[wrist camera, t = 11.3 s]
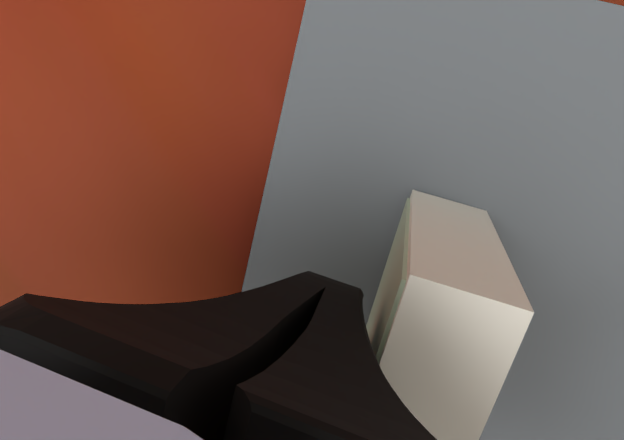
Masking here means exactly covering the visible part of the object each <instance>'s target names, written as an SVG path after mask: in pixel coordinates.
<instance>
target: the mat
mask: <svg viewBox="0 0 624 440" xmlns="http://www.w3.org/2000/svg"><path fill="white" fill-rule="evenodd" d="M412 190H416V191H419V192H423V193H426V194H430V195H433V196H437V197H440V198H444V199H447V200H451V201H454V202H458V203H461V204H465V205H468V206H472V207H475V208H479V209H482V210H485V211H487V213H488V215H489V217H490V219H491V221H492V223H493V226H494V228H495V230H496V232H497V234H498V236H499V238H500V240H501V243H502V245H503V247H504V249H505V251H506V253H507V255H508V257H509V260H510V262H511V264H512V266H513V268H514V270H515V272H516V274H517V277H518V279H519V281H520V283H521V285H522V287H523V289H524V291H525V294H526V296H527V298H528V300H529V302H530V304H531V306H532V308H533V311H534V314H533V317H532V319H531V321H530V324H529V326H528V328H527V331H526V333H525V335H524V337H523V340H522V342H521V344H520V347H519V349H518V351H517V353H516V356H515V358H514V360H513V363H512V365H511V367H510V370H509V372H508V374H507V376H506V379H505V381H504V383H503V386H502V388H501V390H500V392H499V395H498V397H497V399H496V402H495V404H494V406H493V409H492V411H491V413H490V415H489V418H488V420H487V422H486V425H485V427H484V429H483V431H482V434H481V436H480V438H479V440H624V6H621V5H616V4H612V3H607V2H603V1H598V0H306V4H305V9H304V13H303V18H302V22H301V27H300V31H299V36H298V40H297V45H296V49H295V54H294V58H293V63H292V67H291V72H290V76H289V80H288V85H287V89H286V94H285V98H284V103H283V107H282V112H281V116H280V121H279V125H278V130H277V134H276V139H275V143H274V148H273V152H272V157H271V161H270V166H269V170H268V175H267V179H266V184H265V188H264V193H263V197H262V202H261V206H260V211H259V215H258V220H257V224H256V229H255V233H254V238H253V242H252V247H251V251H250V256H249V260H248V265H247V269H246V274H245V278H244V283H243V287H242V292H243V291H247V290H251V289H254V288H258V287H262V286H265V285H268V284H271V283H274V282H276V281H279V280H282V279H285V278H288V277H291V276H294V275H296V274H299V273H302V272H306V271H311V272H314V273H317V274H320V275H322V276H325V277H328V278H331V279H334V280H337V281H340V282H343V283H346V284H349V285H352V286H355V287H358V288H360V289H361V290H362V292H363V294H364V297H363V314H364V320H365V324H366V325H367V322H368V319H369V315H370V312H371V309H372V306H373V303H374V300H375V297H376V294H377V291H378V287H379V284H380V281H381V278H382V275H383V272H384V269H385V266H386V262H387V259H388V256H389V253H390V250H391V247H392V244H393V241H394V237H395V234H396V231H397V228H398V225H399V222H400V219H401V216H402V213H403V209H404V206H405V203H406V200H407V198H410V196H411V193H412Z"/></svg>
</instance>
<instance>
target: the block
mask: <svg viewBox="0 0 624 440" xmlns="http://www.w3.org/2000/svg"><path fill="white" fill-rule="evenodd" d="M533 314H534V311H533V308H532V306H531V304H530V302H529V300H528V298H527V296H526V294H525V291H524V289H523V287H522V285H521V283H520V281H519V279H518V277H517V274H516V272H515V270H514V268H513V266H512V264H511V262H510V260H509V257H508V255H507V253H506V251H505V249H504V247H503V245H502V243H501V240H500V238H499V236H498V234H497V232H496V230H495V228H494V226H493V223H492V221H491V219H490V217H489V215H488V213H487V211H485V210H482V209H479V208H475V207H472V206H468V205H465V204H461V203H458V202H454V201H451V200H447V199H444V198H440V197H437V196H433V195H430V194H426V193H423V192H419V191H416V190H412V193H411V196H410V198H407V200H406V203H405V206H404V209H403V213H402V216H401V219H400V222H399V225H398V228H397V231H396V234H395V237H394V241H393V244H392V247H391V250H390V253H389V256H388V259H387V262H386V266H385V269H384V272H383V275H382V278H381V281H380V284H379V287H378V291H377V294H376V297H375V300H374V303H373V306H372V309H371V312H370V315H369V319H368V322H367V325H366V328H367V332H368V336H369V339H370V343H371V345H372V348H373V351H374V354H375V356H376V359H377V361H378V363H379V366H380V368H381V370H382V372H383V374H384V376H385V377H386V379H387V381H388V382H389V384H390V385H391V387H392V388H393V390H394V391H395V392H396V394H397V395H398V397H399V398H400V399H401V401H402V402H403V404H404V405H405V406H406V407H407V408H408V410H409V411H410V412H411V413H412V414H413V416H414V417H415V418H416V419H417V420H418V421H419V422H420V423H421V424H422V425H423V426H424V427H425V428H426V429H427V430H428V431H429V432H430V433H431V434H432V435H433V436H434V437H435V438H436V439H437V440H479V438H480V436H481V434H482V431H483V429H484V427H485V425H486V422H487V420H488V418H489V415H490V413H491V411H492V409H493V406H494V404H495V402H496V399H497V397H498V395H499V392H500V390H501V388H502V386H503V383H504V381H505V379H506V376H507V374H508V372H509V370H510V367H511V365H512V363H513V360H514V358H515V356H516V353H517V351H518V349H519V347H520V344H521V342H522V340H523V337H524V335H525V333H526V331H527V328H528V326H529V324H530V321H531V319H532V317H533Z"/></svg>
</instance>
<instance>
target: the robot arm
mask: <svg viewBox="0 0 624 440" xmlns="http://www.w3.org/2000/svg"><path fill="white" fill-rule="evenodd" d="M363 297H364V294H363V292H362V290H361V289H360V288H358V287H355V286H352V285H349V284H346V283H343V282H340V281H337V280H334V279H331V278H328V277H325V276H322V275H320V274H317V273H314V272H311V271H306V272H302V273H299V274H296V275H294V276H291V277H288V278H285V279H282V280H279V281H276V282H274V283H271V284H268V285H265V286H262V287H258V288H254V289H251V290H247V291H243V292H240V293H236V294H232V295H228V296H223V297H218V298H213V299H207V300H200V301H193V302H183V303H164V304H110V303H95V302H83V301H76V300H68V299H61V298H53V297H46V296H38V295H32V294H24V295H22V296H20V297H19V298H17V299H15V300H13V301H11V302H9V303H7V304H5V305H3V306H1V307H0V440H437V439H436V438H435V437H434V436H433V435H432V434H431V433H430V432H429V431H428V430H427V429H426V428H425V427H424V426H423V425H422V424H421V423H420V422H419V421H418V420H417V419H416V418H415V417H414V416H413V414H412V413H411V412H410V411H409V410H408V408H407V407H406V406H405V405H404V404H403V402H402V401H401V399H400V398H399V397H398V395H397V394H396V392H395V391H394V390H393V388H392V387H391V385H390V384H389V382H388V381H387V379H386V377H385V376H384V374H383V372H382V370H381V368H380V366H379V363H378V361H377V359H376V356H375V354H374V351H373V348H372V345H371V343H370V339H369V336H368V332H367V328H366V324H365V320H364V314H363Z"/></svg>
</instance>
